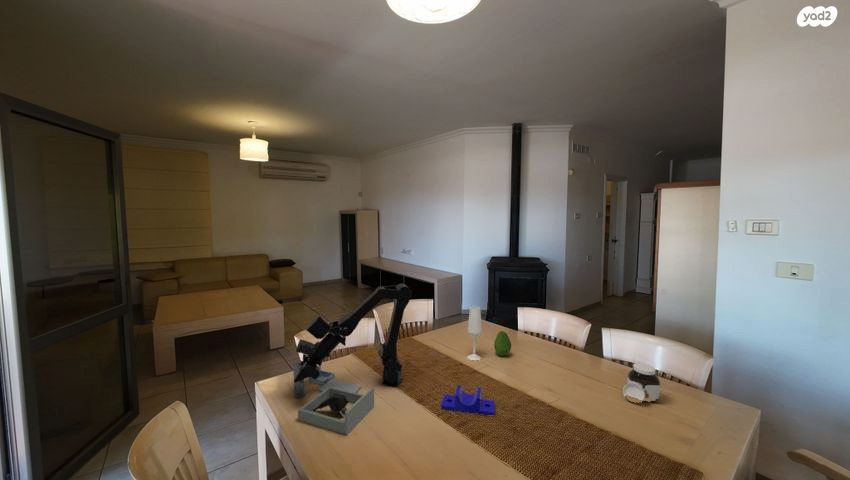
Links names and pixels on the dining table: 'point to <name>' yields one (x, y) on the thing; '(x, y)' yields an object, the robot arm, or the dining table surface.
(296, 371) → the dark gray cup
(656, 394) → the spread jar
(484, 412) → the mounting bracket
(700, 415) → the dining table surface
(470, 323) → the champagne flute
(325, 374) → the blue gray open box
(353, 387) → the mat
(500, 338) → the avocado
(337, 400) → the power plug
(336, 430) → the case
